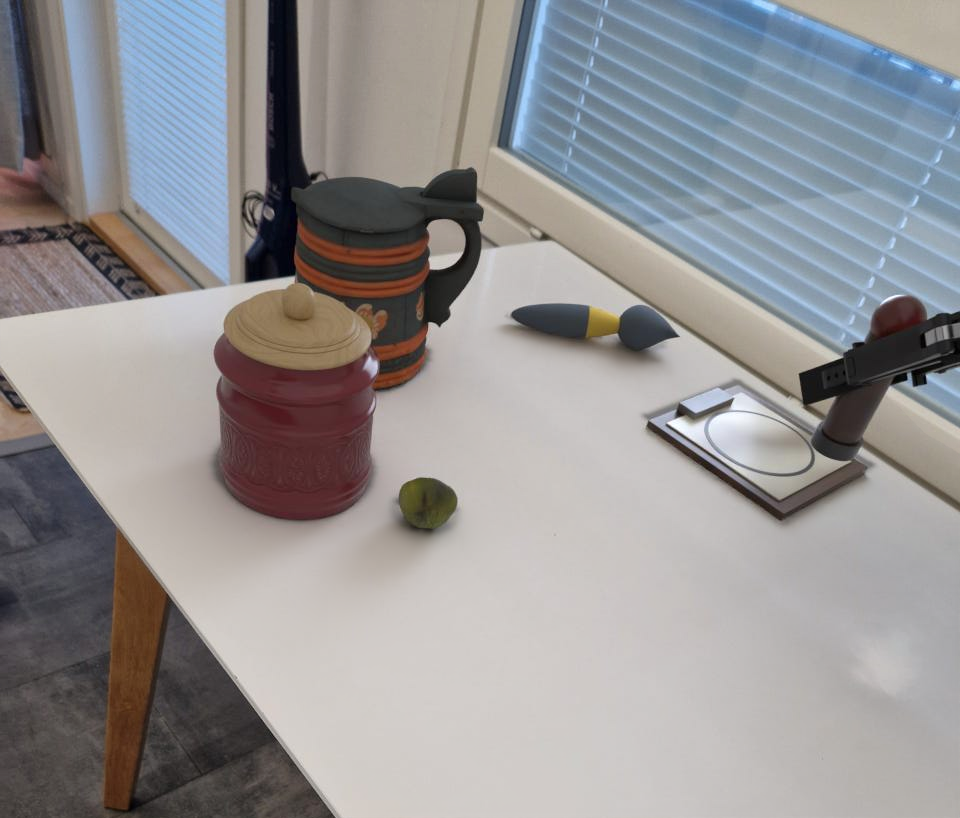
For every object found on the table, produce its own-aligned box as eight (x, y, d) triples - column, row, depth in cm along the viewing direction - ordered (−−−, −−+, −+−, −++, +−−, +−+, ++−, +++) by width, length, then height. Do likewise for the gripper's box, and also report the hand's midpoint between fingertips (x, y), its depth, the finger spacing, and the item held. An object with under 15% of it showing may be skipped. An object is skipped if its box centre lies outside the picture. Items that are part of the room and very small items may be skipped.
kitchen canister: (377, 523, 77) (396, 333, 65) (221, 524, 74) (209, 323, 61) (361, 436, 86) (375, 253, 73) (220, 433, 82) (209, 241, 70)
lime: (388, 515, 78) (394, 468, 75) (436, 503, 80) (443, 457, 77) (413, 546, 76) (420, 499, 72) (461, 533, 78) (470, 486, 75)
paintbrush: (510, 339, 104) (518, 297, 100) (508, 318, 107) (516, 278, 104) (674, 363, 107) (687, 323, 103) (667, 342, 110) (680, 303, 106)
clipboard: (864, 473, 96) (872, 459, 95) (781, 520, 87) (788, 505, 86) (734, 390, 104) (740, 377, 103) (645, 426, 95) (650, 411, 94)
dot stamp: (864, 453, 78) (946, 303, 68) (840, 466, 76) (922, 314, 66) (826, 429, 79) (901, 281, 70) (801, 442, 77) (875, 290, 68)
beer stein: (445, 325, 104) (472, 138, 90) (476, 394, 94) (511, 197, 80) (278, 319, 98) (278, 120, 84) (293, 392, 89) (296, 181, 75)
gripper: (1030, 364, 53) (755, 441, 74) (1190, 343, 59) (895, 419, 81) (1013, 234, 52) (740, 350, 74) (1177, 227, 59) (883, 335, 80)
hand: (822, 386), depth 77 cm, fingers closed on dot stamp, 3 cm apart
